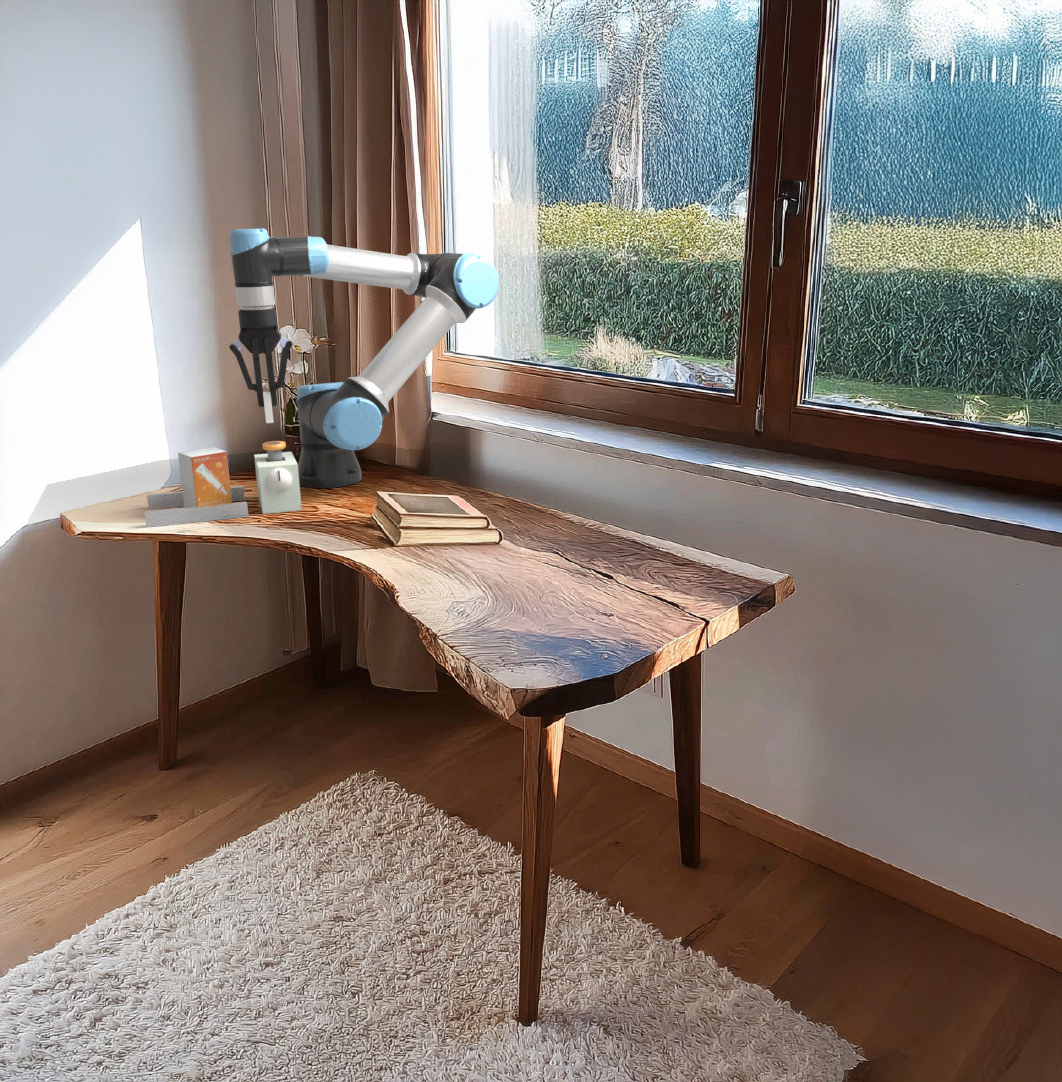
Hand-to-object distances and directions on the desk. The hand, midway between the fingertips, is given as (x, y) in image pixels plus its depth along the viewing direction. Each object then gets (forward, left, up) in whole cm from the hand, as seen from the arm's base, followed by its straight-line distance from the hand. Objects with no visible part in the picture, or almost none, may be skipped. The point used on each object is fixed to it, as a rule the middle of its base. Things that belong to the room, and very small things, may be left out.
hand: (269, 421), depth 208 cm
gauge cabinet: (0, 0, -18) cm, 18 cm away
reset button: (0, 0, -11) cm, 11 cm away
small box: (+14, 0, -18) cm, 23 cm away
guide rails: (+17, 0, -18) cm, 25 cm away
